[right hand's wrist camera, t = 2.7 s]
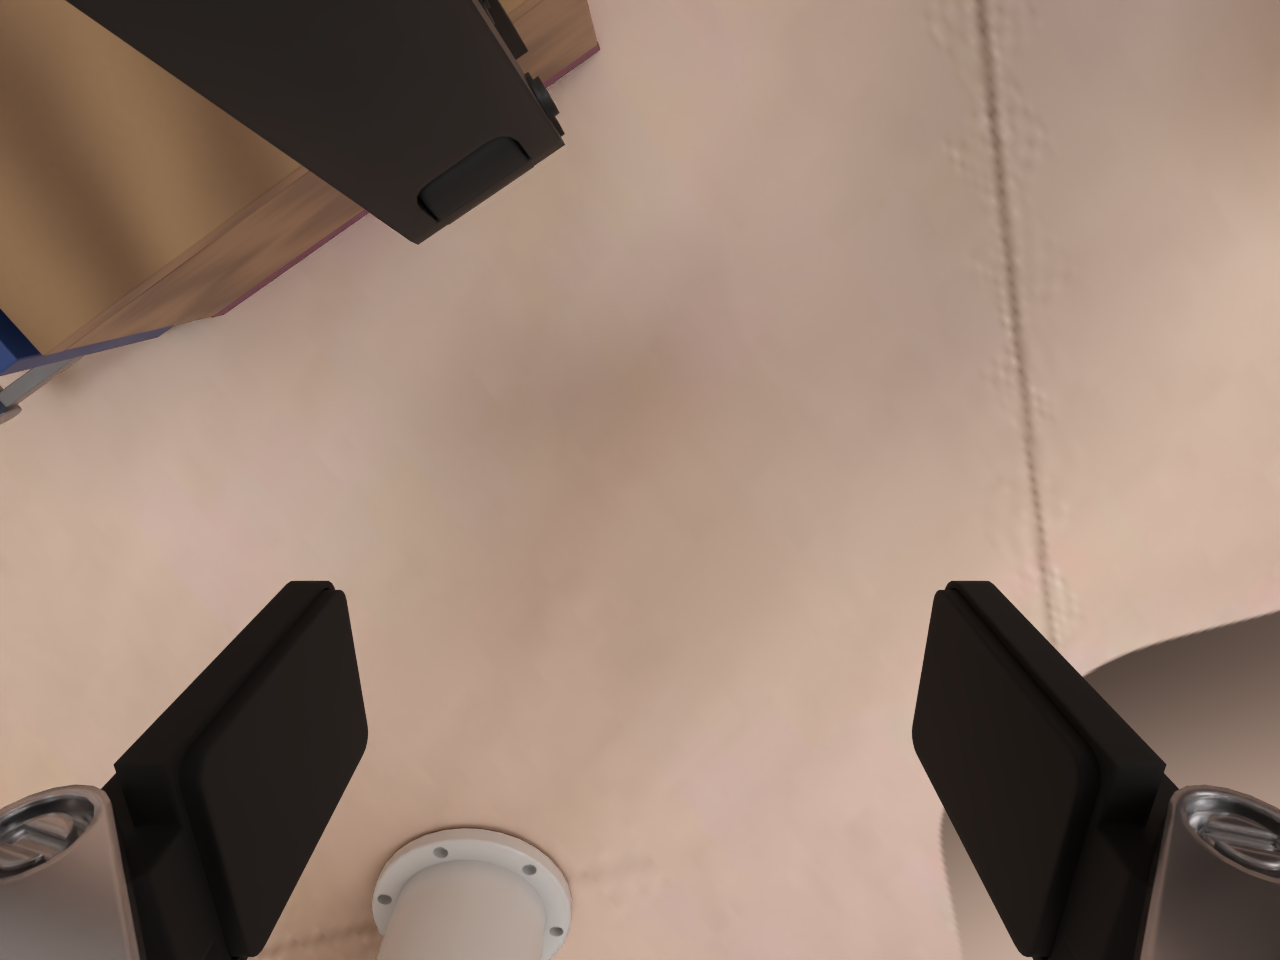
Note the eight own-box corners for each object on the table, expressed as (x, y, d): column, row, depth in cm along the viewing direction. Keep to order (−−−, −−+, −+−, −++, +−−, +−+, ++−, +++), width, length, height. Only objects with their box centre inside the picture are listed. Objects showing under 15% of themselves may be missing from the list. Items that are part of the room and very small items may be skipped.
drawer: (63, 405, 33) (-125, 466, 25) (-89, 238, 31) (-354, 246, 22) (508, 88, 29) (456, 36, 20) (374, -140, 26) (252, -304, 18)
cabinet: (223, 314, 33) (42, 356, 23) (61, 110, 30) (-228, 57, 20) (600, 49, 29) (579, -38, 19) (457, -214, 26) (344, -480, 16)
